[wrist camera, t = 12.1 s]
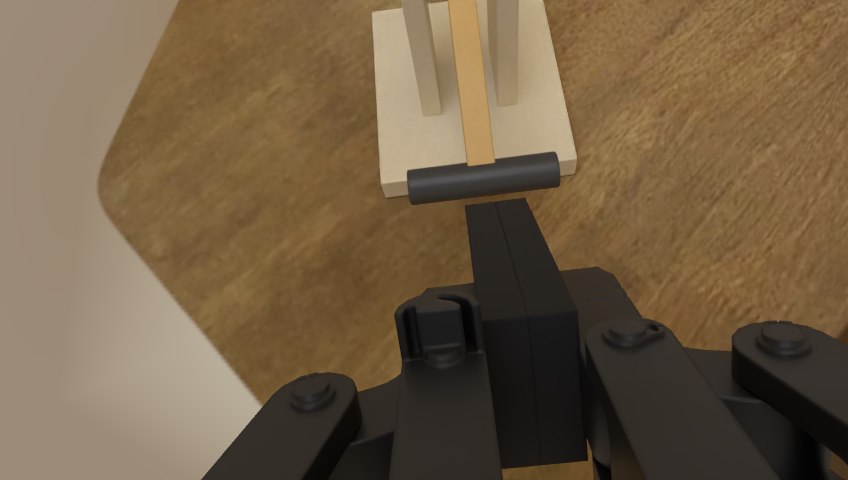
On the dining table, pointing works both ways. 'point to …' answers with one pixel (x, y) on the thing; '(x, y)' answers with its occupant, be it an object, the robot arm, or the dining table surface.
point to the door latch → (438, 90)
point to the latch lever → (478, 133)
